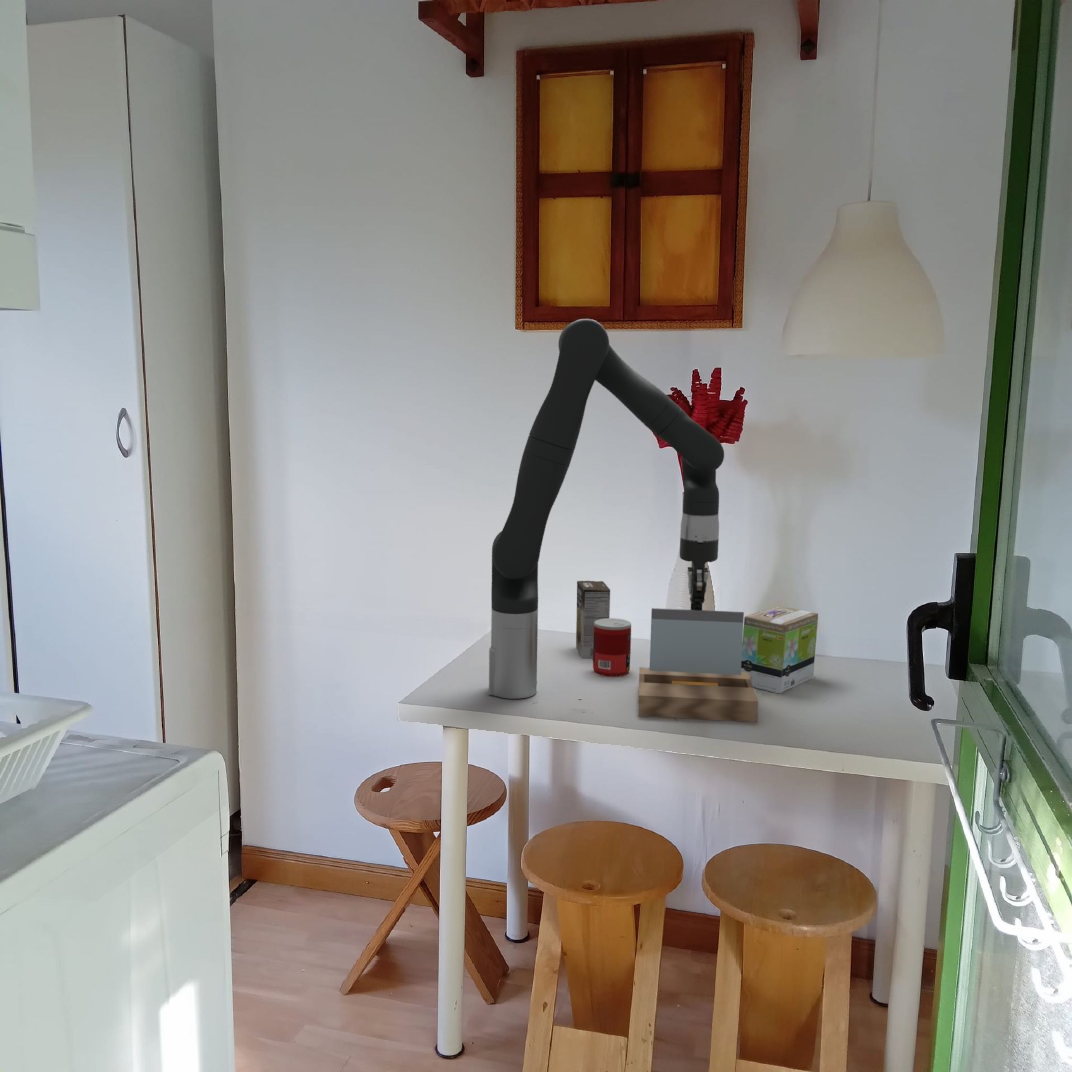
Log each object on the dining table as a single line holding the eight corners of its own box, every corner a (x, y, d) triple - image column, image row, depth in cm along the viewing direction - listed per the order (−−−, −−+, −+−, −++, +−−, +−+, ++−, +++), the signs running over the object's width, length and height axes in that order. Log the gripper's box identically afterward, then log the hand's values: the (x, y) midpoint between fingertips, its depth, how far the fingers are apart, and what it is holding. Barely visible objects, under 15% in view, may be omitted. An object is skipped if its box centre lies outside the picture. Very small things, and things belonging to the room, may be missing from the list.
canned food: (634, 676, 208) (636, 626, 206) (598, 678, 206) (600, 627, 204) (623, 665, 215) (624, 617, 213) (588, 667, 213) (589, 618, 212)
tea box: (782, 695, 197) (786, 624, 195) (738, 684, 203) (741, 615, 201) (814, 678, 208) (819, 611, 206) (772, 669, 215) (775, 603, 212)
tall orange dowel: (671, 698, 193) (672, 685, 192) (671, 690, 196) (671, 677, 195) (717, 701, 192) (718, 688, 191) (716, 693, 195) (717, 680, 194)
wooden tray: (638, 715, 183) (638, 695, 183) (638, 686, 201) (639, 667, 200) (757, 722, 181) (758, 701, 180) (747, 691, 199) (748, 672, 198)
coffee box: (574, 647, 229) (576, 580, 226) (601, 647, 230) (603, 580, 227) (580, 658, 220) (582, 588, 217) (608, 658, 221) (610, 588, 218)
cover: (651, 609, 194) (651, 608, 194) (649, 670, 195) (649, 669, 196) (743, 612, 192) (743, 611, 192) (740, 674, 193) (740, 673, 194)
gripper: (678, 529, 200) (675, 611, 203) (681, 541, 187) (678, 628, 190) (716, 530, 199) (712, 613, 202) (721, 542, 186) (717, 630, 189)
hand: (695, 620), depth 196 cm, fingers closed
